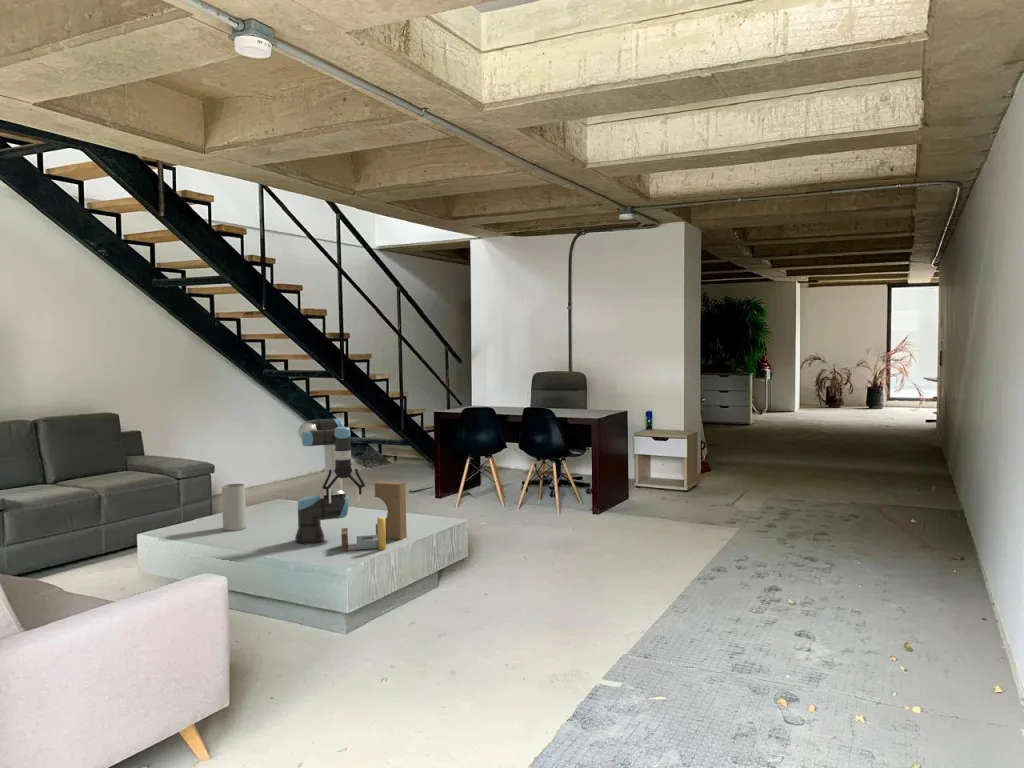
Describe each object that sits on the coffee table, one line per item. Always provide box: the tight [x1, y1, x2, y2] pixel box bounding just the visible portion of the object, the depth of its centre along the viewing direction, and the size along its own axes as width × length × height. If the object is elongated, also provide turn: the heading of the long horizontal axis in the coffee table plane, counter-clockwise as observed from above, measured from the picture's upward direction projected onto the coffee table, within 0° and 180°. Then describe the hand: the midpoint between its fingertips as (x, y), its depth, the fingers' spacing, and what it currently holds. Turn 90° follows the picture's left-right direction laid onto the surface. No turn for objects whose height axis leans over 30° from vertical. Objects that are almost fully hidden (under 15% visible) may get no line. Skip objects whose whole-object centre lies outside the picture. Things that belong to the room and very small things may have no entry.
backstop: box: [340, 527, 349, 553], centre depth 392 cm, size 13×3×9 cm, turn 12°
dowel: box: [376, 516, 387, 551], centre depth 389 cm, size 4×4×16 cm
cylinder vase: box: [221, 483, 247, 532], centre depth 440 cm, size 12×12×25 cm
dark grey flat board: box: [348, 544, 358, 551], centre depth 395 cm, size 8×19×1 cm, turn 102°
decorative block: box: [374, 480, 408, 541], centre depth 412 cm, size 15×8×30 cm, turn 71°
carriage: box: [356, 534, 378, 550], centre depth 395 cm, size 11×11×4 cm
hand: (344, 502), depth 373 cm, fingers open, 13 cm apart
